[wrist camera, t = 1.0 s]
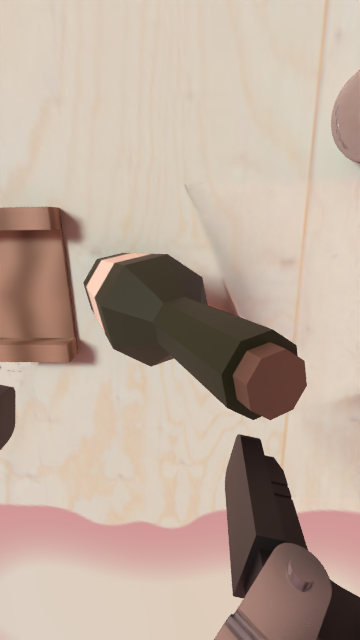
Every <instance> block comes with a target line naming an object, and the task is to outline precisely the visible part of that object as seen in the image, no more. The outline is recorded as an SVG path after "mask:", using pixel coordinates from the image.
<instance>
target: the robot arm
mask: <svg viewBox="0 0 360 640" xmlns="http://www.w3.org/2000/svg"><path fill="white" fill-rule="evenodd" d="M331 128H332V135H333V138H334V141H335V144H336V145H337V147H338V148H339V150H340V151H341V152H342V153H343V154H344V155H345V156H346V157H347V158H349V159H351V160H352V161H355V162H358V163H360V70H359V71H358V72H357V73H356V74H355V75H353V76H352V77H351V78H350V79H349V80H348V81H347V83H346V84H345V85H344V87H343V88H342V90H341V91H340V93H339V95H338V97H337V99H336V101H335V104H334V107H333V111H332V118H331ZM14 427H15V390H14V388H13V387H8V386H3V385H0V450H1V449H2V448H3V446H4V445H5V444H6V443H7V442H8V440H9V439H10V437H11V435H12V433H13V431H14ZM287 486H288V484H287V481H286V478H285V474H284V471H283V469H282V468H281V467H280V465H279V464H278V463H277V461H276V460H275V459H274V457H269V456H265V455H264V451H263V447H262V443H261V440H260V439H259V438H254V437H249V436H244V435H239V434H238V435H237V437H236V440H235V443H234V447H233V450H232V453H231V456H230V460H229V463H228V466H227V471H226V477H225V493H226V507H227V520H228V534H229V547H230V561H231V575H232V588H233V596H235V597H240V598H244V600H243V601H242V603H241V604H240V606H239V607H238V609H237V611H236V612H235V613H234V614H233V615H232V614H231V615H230V616H229V617H228V619H227V620H226V622H225V623H224V625H223V626H222V628H221V629H220V631H219V632H218V634H217V636H216V638H215V639H214V640H360V597H358V596H356V595H354V594H352V593H351V592H349V591H347V590H345V589H343V588H342V587H340V586H338V585H337V584H335V583H334V582H333V581H331V580H330V579H329V576H328V574H327V572H326V570H325V569H324V567H323V565H322V564H321V563H320V561H319V560H318V559H317V558H316V557H315V556H314V555H313V554H312V553H310V552H309V551H308V549H307V546H306V543H305V540H304V536H303V533H302V530H301V526H300V523H299V520H298V517H297V513H296V510H295V507H294V504H293V500H291V494H290V491H289V488H288V487H287Z"/></svg>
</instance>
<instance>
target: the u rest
mask: <svg viewBox="0 0 360 640" xmlns="http://www.w3.org/2000/svg"><path fill="white" fill-rule="evenodd" d="M77 353H78V349H77V342H76V334H75V326H74V318H73V311H72V303H71V295H70V288H69V280H68V272H67V264H66V257H65V249H64V241H63V234H62V226H61V218H60V210H59V208H55V207H15V208H0V362H70V361H71V360H72V359H73V358H74V357H75V356H76V354H77Z"/></svg>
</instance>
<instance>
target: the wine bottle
mask: <svg viewBox="0 0 360 640" xmlns="http://www.w3.org/2000/svg"><path fill="white" fill-rule="evenodd" d="M84 286H85V289H86V293H87V296H88V299H89V303H90V306H91V309H92V311H93V312H94V314H95V316H96V318H97V320H98V322H99V323H100V325H101V327H102V329H103V331H104V332H105V334H106V336H107V338H108V340H109V342H110V343H111V345H112V347H113V349H115V350H117V351H119V352H121V353H123V354H125V355H128V356H130V357H132V358H134V359H136V360H138V361H140V362H142V363H144V364H147V365H149V366H154V365H157V364H159V363H162V362H165V361H168V360H171V359H173V358H175V359H176V360H177V361H178V362H179V363H180V364H181V365H182V366H183V367H184V368H185V369H186V370H187V371H188V372H190V373H191V374H192V375H193V376H194V377H195V378H196V379H197V380H198V381H199V382H200V383H201V384H202V385H203V386H204V387H206V388H207V389H208V390H209V391H210V392H211V393H212V394H213V395H214V396H215V397H216V398H217V399H218V400H219V401H221V402H222V403H223V404H224V405H225V406H226V407H227V408H228V409H231V410H233V411H235V412H237V413H239V414H241V415H244V416H246V417H248V418H250V419H252V420H255V419H257V418H259V417H261V416H263V417H265V418H267V419H269V420H272V419H274V418H276V417H278V416H280V415H282V414H284V413H286V412H289V411H291V410H293V409H294V407H295V405H296V403H297V402H298V400H299V398H300V396H301V395H302V393H303V391H304V389H305V388H306V386H307V383H306V373H305V362H304V360H302V359H301V358H299V357H298V356H297V347H296V345H295V344H294V343H292V342H291V341H289V340H288V339H286V338H285V337H283V336H282V335H280V334H279V333H277V332H276V331H274V330H272V329H270V328H267V327H264V326H262V325H259V324H256V323H253V322H251V321H248V320H245V319H243V318H240V317H237V316H235V315H232V314H229V313H226V312H224V311H221V310H218V309H216V308H213V307H210V306H207V301H206V295H205V290H204V285H203V280H202V277H201V276H199V275H198V274H196V273H195V272H193V271H192V270H190V269H189V268H187V267H186V266H184V265H183V264H181V263H180V262H178V261H177V260H175V259H174V258H172V257H171V256H169V255H168V254H139V253H121V254H117V255H113V256H109V257H104V258H100V259H97V260H96V262H95V264H94V265H93V267H92V269H91V271H90V272H89V274H88V276H87V277H86V279H85V281H84Z"/></svg>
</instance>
